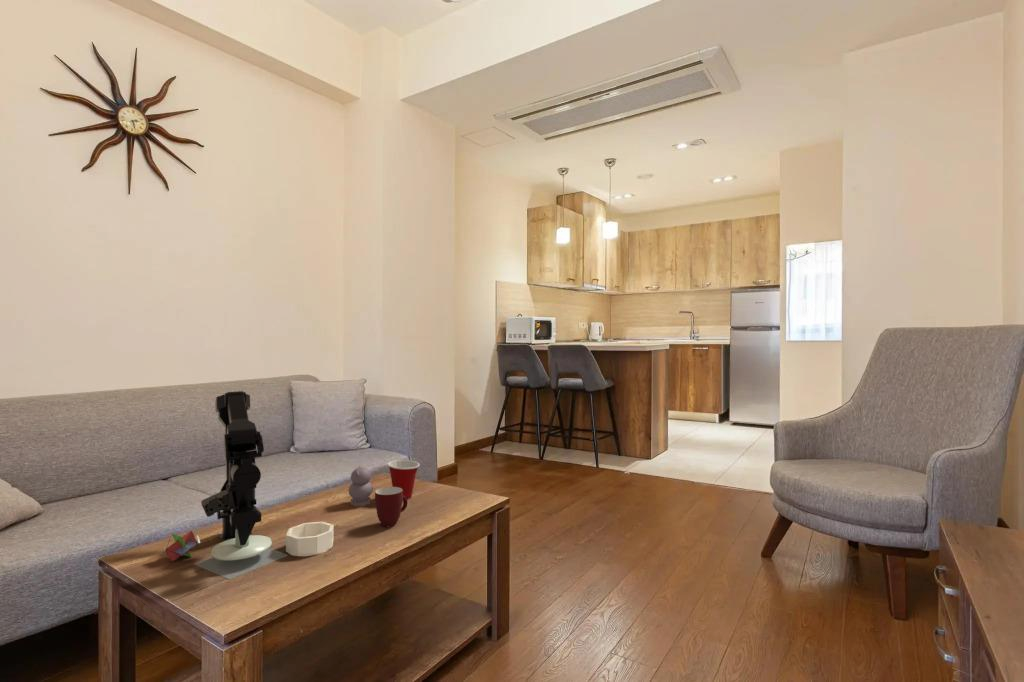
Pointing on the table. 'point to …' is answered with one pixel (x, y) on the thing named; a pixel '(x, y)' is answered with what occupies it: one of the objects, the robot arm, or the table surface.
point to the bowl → (309, 539)
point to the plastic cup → (403, 475)
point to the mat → (240, 564)
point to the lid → (241, 547)
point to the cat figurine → (360, 486)
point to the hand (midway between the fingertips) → (242, 542)
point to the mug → (389, 505)
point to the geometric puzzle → (182, 546)
